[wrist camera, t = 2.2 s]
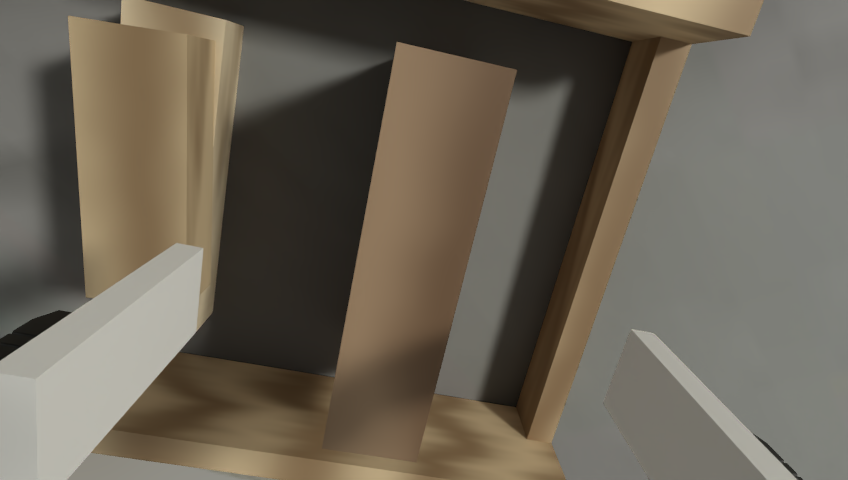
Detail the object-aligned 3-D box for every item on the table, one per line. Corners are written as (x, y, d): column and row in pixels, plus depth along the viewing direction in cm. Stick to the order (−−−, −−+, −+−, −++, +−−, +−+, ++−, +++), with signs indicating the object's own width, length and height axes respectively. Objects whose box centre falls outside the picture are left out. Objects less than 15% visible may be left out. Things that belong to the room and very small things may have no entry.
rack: (105, 361, 30) (18, 442, 23) (117, -122, 22) (-6, -209, 16) (531, 429, 32) (564, 520, 26) (669, 17, 25) (766, -7, 18)
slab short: (121, 273, 25) (85, 297, 23) (112, 24, 22) (68, 15, 19) (210, 283, 26) (185, 308, 23) (215, 40, 22) (187, 34, 19)
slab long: (138, 294, 29) (109, 317, 26) (155, 5, 24) (121, -6, 22) (215, 308, 29) (195, 333, 27) (246, 27, 25) (225, 19, 22)
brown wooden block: (348, 331, 30) (321, 448, 20) (399, 57, 25) (396, 41, 16) (412, 342, 30) (416, 462, 21) (475, 74, 26) (517, 69, 16)
